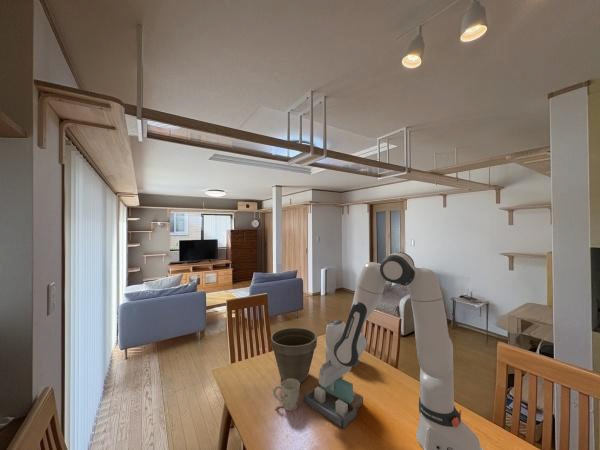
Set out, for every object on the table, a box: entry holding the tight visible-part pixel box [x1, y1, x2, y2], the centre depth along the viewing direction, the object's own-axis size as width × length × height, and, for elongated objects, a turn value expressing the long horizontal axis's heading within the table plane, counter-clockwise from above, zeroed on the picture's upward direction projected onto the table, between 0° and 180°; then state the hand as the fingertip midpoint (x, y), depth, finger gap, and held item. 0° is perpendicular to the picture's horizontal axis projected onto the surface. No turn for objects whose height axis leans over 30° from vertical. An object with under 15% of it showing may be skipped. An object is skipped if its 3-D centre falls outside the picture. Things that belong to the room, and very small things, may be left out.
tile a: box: [335, 399, 348, 418], centre depth 106 cm, size 4×4×2 cm
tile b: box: [313, 386, 325, 403], centre depth 115 cm, size 4×4×2 cm
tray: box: [303, 385, 358, 430], centre depth 110 cm, size 22×10×3 cm, turn 44°
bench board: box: [325, 390, 364, 411], centre depth 116 cm, size 18×8×4 cm, turn 44°
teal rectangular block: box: [320, 378, 354, 404], centre depth 114 cm, size 16×3×7 cm, turn 46°
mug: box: [272, 378, 301, 412], centre depth 112 cm, size 8×13×10 cm, turn 78°
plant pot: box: [270, 327, 318, 384], centre depth 135 cm, size 25×25×22 cm
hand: (336, 387), depth 114 cm, fingers closed on teal rectangular block, 3 cm apart
